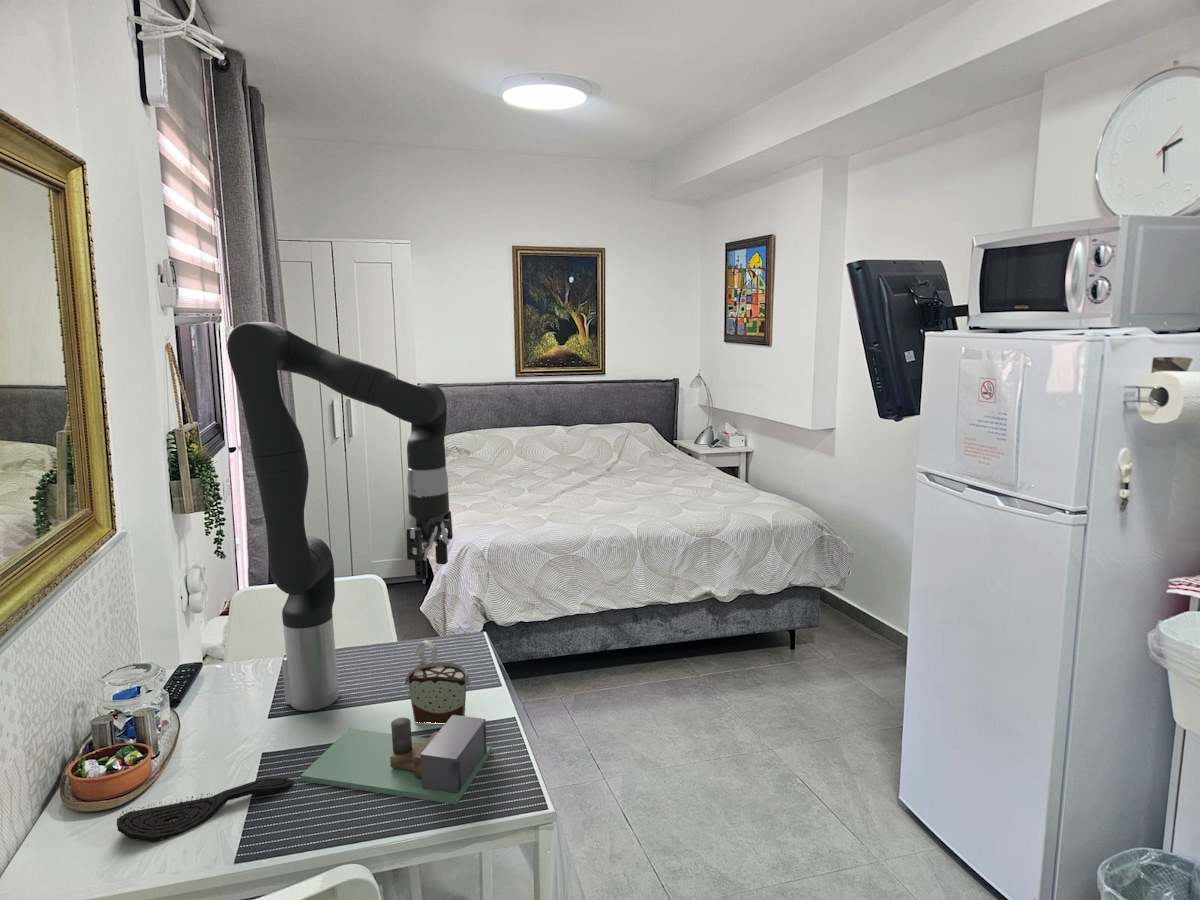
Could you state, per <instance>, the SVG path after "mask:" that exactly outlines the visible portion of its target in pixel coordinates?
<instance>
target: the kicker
mask: <svg viewBox="0 0 1200 900" xmlns="http://www.w3.org/2000/svg"><path fill="white" fill-rule="evenodd" d="M390 724H391V725H390V726H391V727H390V728H391V734H392V744H393V752H394V753H393V754H392V755H391V756H390V762H391V768H398V769H405V770H412V771H415V777H420V778H422V772H421V755H420V754H421V753H422V752H423V751H424V749H425V748H426V747H427V746H428V744H429V743H430V742H431V741H432V739H433V738H434V737H435V736H436V735H437V733H438V732H439V731H434V732H433V733H432V734H431V735H430V737H429V738H428V740H427V742H426V743H418V742H412V737H411V736H412V725H411V724H412V723H411V719H409V718H408V717H399V718H396V719H395V718H394V720H392V722H391V723H390Z"/></svg>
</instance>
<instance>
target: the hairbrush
mask: <svg viewBox="0 0 1200 900" xmlns="http://www.w3.org/2000/svg"><path fill="white" fill-rule="evenodd" d="M293 785H294V780H293V779H291V778H285V777H269V778H268V777H267V778H262V779H259V780H254V781H251V782H247V783H245V784H244V783H243V784H241V785H238V786H235V787H231V788H229V789H225V790H223V791H221V792H219V793H217V794H214V795H213V793H210V792H209V793H207V794H206V797H203V798H202V796H204V794H203V793H200V796H201V797H200V798H198V797H197V798H196V799H194V796H191V798H190V800H188V798H189V797H188V796H187V797H186V800H185V801H183V800H181V801H179V802H177V801H178V800H177V799H178V798H176V799H175V801H176V802H175V803H170V804H166V803H167V802H166V801H164V803H165V804H164V805H161V806H160V804H163V802H162V801H161V802H160V801H159V803H158V804H159V806H155V803H153V804H147V806H148V808H145V806H143V807H139V806H138V807H137V809H138V810H135V809H133V810H132V807H130V811H128V810H127V809H126V810H125V812H126V813H124V810H121V813H122V814H121V813H120V814H119V816H118V817H117V819H116V827H117V831H118V832H120V833H121V834H122V835H124V836H126V837H127V838H128V839H130V840H136V841H142V842H143V841H144V842H149V843H156V842H161V841H165V840H168V839H171V838H174V837H177V836H180V835H182V834H185V833H187V832H188V831H191V830H193V829H195V828H197V827H199V826H200V825H202V824H204V823H206V822H207V821H208V820H209V819H211V818H212V817H213V816H214V815H215V814H216V813H218V812H219V810H220V809H221V808H222V807H223V806H224V805H225V804H227V802H230V801H232V800H235V799H239V798H244V797H247V796H250V795H252V796H253V795H258V794H259V795H261V794H264V795H265V794H274V793H281V792H286V791H287V790H289V789H290V788H291V787H292V786H293ZM208 795H211V796H208ZM150 806H151V807H150ZM152 806H153V807H152ZM139 808H140V809H139ZM127 811H128V812H127ZM173 819H174V820H173Z"/></svg>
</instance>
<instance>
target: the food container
mask: <svg viewBox="0 0 1200 900" xmlns="http://www.w3.org/2000/svg"><path fill="white" fill-rule="evenodd" d="M470 684H471V680H470V678H469V673H468V672H467V670H466V668H465V667H464V666H463V665H460V664H458V663H456V662H455V663H454V662H448V661H435V662H433V663H428V664H425V663H423V664H422V665H419V666H417V667H415V668H413V669H411V670H410V671H408V673H407V674H406V677H405V682H404V685H408V691H409V698H410V703H411V708H412V713H413V714H412V715H413V719H414V723H415V722H418V723H419V722H420V723H424V722H425V723H426V722H431V723H435V722H436V723H446V722H447V721H448V720H449V719H450V717H451V716H452V715H457V716H465V713H466V700H467V699H466V698H467V697H466V696H467V687H468V688H469V687H471V686H470Z"/></svg>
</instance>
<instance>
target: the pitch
mask: <svg viewBox="0 0 1200 900" xmlns="http://www.w3.org/2000/svg"><path fill="white" fill-rule="evenodd" d="M411 737H412V742H418V743H426V742H427V740H428V739H429V738H427V737H426V738H425V737H419V736H412V735H411ZM393 753H394V752H393V744H392V733H387V732H382V731H373V730H365V729H359V728H352V727H349V728H348V729H346V731H345V732H344V733H343V734H342V735H340V736H339V738H338V739H336V741H334V743H332V744H331V745H330V747H328V748H327V749H326V750H325V751H324V752H323V753H322V754H321V755H320V756H319V757H318V758H317V759H316V760H315V761H314V762H313V763H312V764H311V765H310V766H309V767H308V768H307V769H306V770H304V772H303V773H302V774H301V775H300V780H301V781H302V782H307V783H313V784H319V785H324V786H325V785H326V786H333V787H339V788H344V789H345V788H347V789H353V790H360V791H364V790H365V792H372V793H378V794H384V795H393V796H399V797H404V798H410V799H411V798H412V799H419V800H423V801H424V800H425V801H430V802H431V801H432V802H438V803H444V804H451V805H458V804H459V802H460V800H461V799H462V797H463V796H464V795H465V793H466V792H467V789H468V788H469V787H470V785H471V784H472V782H473V780H474V779H475V778H476V776H477V774H479V771H480V770H481V769H482V767H483V766H484V764H485V762H486V761H487V759H488V758H489V756H490V755H491V753H492V746H488V745H487V751H486V753H485V754H484V756H483V757H482V759H481V760H480V762H479V763H478V765H477V766H476V768H475V769H474V771H473V772H472V774H471V775H470V777H469V778H468V780H467V781H466V782H465V784H464V785H463V787H462V788H461V790H460V791H459V793H458V794H457V793H450V792H443V791H437V790H430V789H423V788H422V778H420V777H415V771H412V770H405V769H398V768H391V762H390V756H391V755H392V754H393Z"/></svg>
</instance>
